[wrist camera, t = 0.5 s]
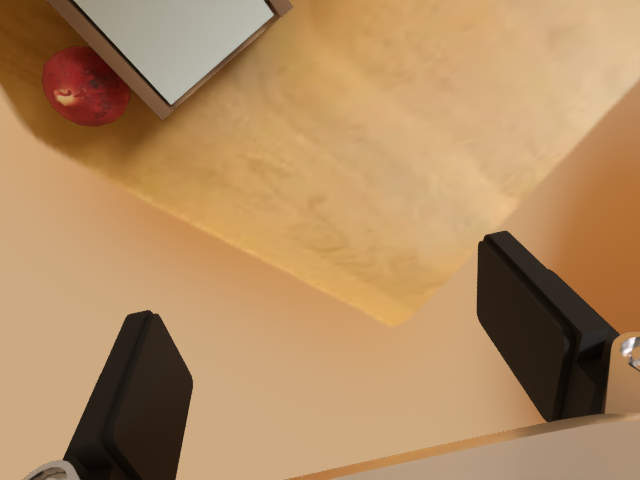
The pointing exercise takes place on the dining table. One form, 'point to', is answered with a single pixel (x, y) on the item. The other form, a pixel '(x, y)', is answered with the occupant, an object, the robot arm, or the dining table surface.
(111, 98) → the onion
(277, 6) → the lid box
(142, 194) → the dining table surface
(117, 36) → the lid
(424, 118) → the dining table surface
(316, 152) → the dining table surface
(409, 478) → the robot arm
